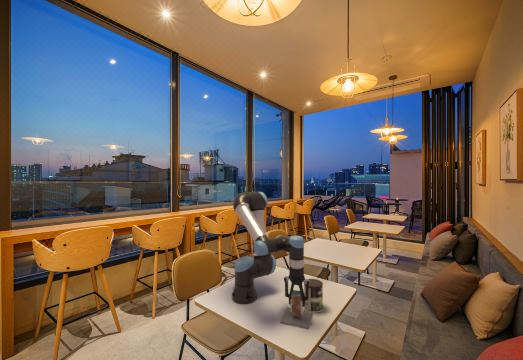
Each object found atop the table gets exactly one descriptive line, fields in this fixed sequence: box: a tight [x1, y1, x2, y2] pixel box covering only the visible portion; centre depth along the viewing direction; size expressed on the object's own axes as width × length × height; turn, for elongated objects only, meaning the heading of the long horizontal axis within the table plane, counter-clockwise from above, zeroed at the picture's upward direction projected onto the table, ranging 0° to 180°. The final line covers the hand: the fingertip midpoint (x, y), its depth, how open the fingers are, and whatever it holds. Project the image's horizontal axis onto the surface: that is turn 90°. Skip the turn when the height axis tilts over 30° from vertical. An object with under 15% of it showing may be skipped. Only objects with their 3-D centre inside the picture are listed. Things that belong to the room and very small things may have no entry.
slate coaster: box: [279, 306, 313, 330], centre depth 120 cm, size 14×14×1 cm
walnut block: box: [292, 289, 302, 317], centre depth 119 cm, size 4×4×11 cm
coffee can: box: [303, 278, 324, 314], centre depth 129 cm, size 10×10×14 cm
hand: (296, 311), depth 119 cm, fingers closed on walnut block, 4 cm apart
